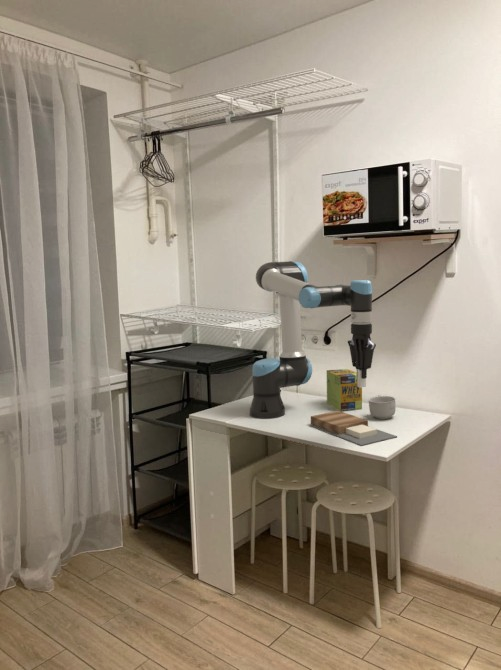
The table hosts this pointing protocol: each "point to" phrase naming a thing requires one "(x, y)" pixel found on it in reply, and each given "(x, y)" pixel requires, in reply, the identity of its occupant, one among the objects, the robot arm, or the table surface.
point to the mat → (363, 441)
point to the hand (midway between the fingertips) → (361, 386)
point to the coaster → (361, 431)
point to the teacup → (382, 406)
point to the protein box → (343, 390)
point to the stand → (337, 421)
